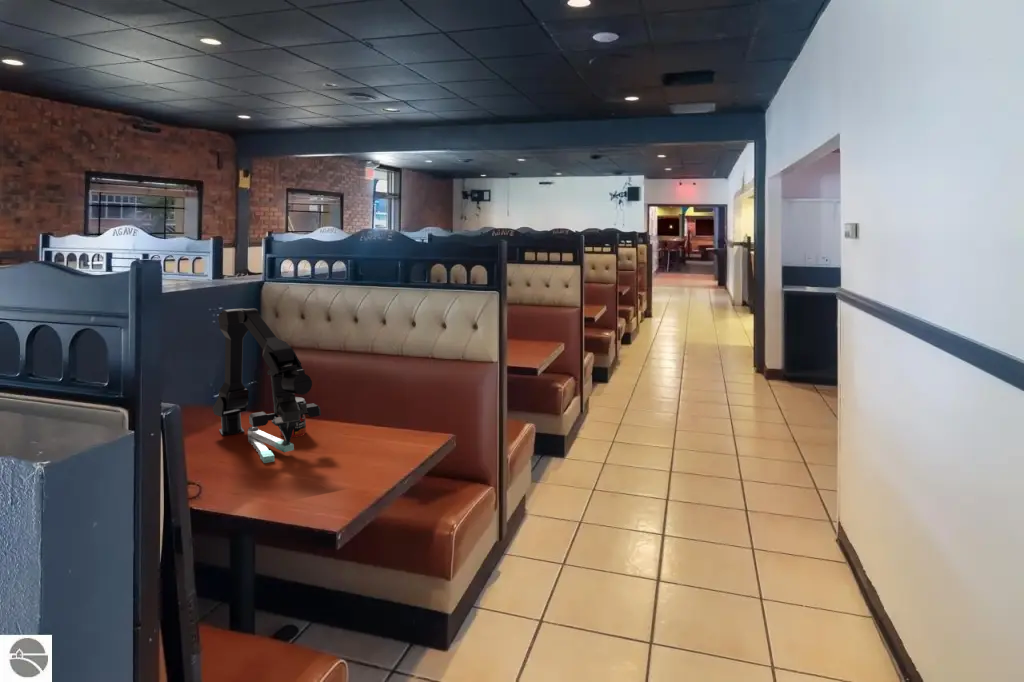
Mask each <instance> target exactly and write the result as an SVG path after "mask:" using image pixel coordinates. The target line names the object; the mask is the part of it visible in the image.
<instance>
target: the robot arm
mask: <svg viewBox="0 0 1024 682" xmlns="http://www.w3.org/2000/svg"><path fill="white" fill-rule="evenodd" d="M217 317H218V318H217V320H218V323H219V324H218V325H219V330H220V331H221V333H222V334H223V336H224V338H225V340H224V341H225V346H224V352H225V353H224V355H225V356H224V383H223V384H222V386H220V389H219V390H218V397H217V399H216V401H215V403H214V405H213V407H212V411H213V414H214V415H215V416H217V417H220V420H221V421H220V424H221V428H219V429H218V430H219V432H220V435H222V436H229V435H236V434H243V433H245V430H244V428H243V427H242V418H241V417H242V415H241V413H243V412H248V405H249V402H250V401H249V393H250V392H249V389H248V388H246V387H245V385H244V384H243V356H244V355H243V354H244V353H243V352H244V350H243V349H244V347H243V346H244V337H245V336H246V335H247V333H248V332H250V334H251V336H252V337H253V339H254V340H255V341H256V342H257V344H258V345H259V346H260V348H261V349H262V358H263V360H264V363H265V364H266V365H267V367H268V368H269V369H268V371H267V372H266V374H267V375H268V376H270V381H271V390H272V391H271V392H272V394H271V395H272V401H273V411H274V412H273V413H266V412H265V411H257V412H252V413H250V414H249V416H248V420H249V421H248V422H249V425H251V427H258V428H259V427H263V426H267V424H268V423H269V421H271V423H272V424H273V425H274V426H275V427H278V428H279V431H280V430H281V432H282V434H283V436H284V437H283V436H282V437H283V438H284V440H286V441H288V442H290V443H291V439H292V437H291V436H292V432H293V429H294V427H295V425H296V423H297V422H300V415H305V416H306V415H307V416H308V417H309V418H314V417H320V416H321V415H322V412H321V407H320V406H319V405H318V404H316V403H307V401H306V400H305V401H299V402H296V399H295V397H296V395H302V396H303V395H306V394H308V393H309V392H310V391H311V389H312V386H313V381H312V379H311V377H310V376H309V375H308V374H306V373H305V369H303V366H302V362H301V361H300V359H299V357H298V356H297V354H296V352H295V351H294V349H293V347H291V345H289V344H288V343H287V342H286V341H284V340H282V339H280V338H278V337H277V336H276V335H275V333H274V332H273V330H272V329H271V328H270V327H269V325H268V324H267V323H266V321H265V320H264V319H263V318H262V316H261V314H260V311H259V310H258V309H257V308H232V309H223V310H222V311H221V312H219V315H218V316H217ZM279 415H280V416H279Z"/></svg>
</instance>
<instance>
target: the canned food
mask: <svg viewBox="0 0 1024 682" xmlns="http://www.w3.org/2000/svg"><path fill="white" fill-rule="evenodd" d="M295 399H296V402H299V401H305V402H306V400H305V398H303V397H299V396H295ZM278 416H280V415H278ZM306 421H307V419H306V414H305V415H300V422H297V423H296V425H295V427H294V429H293V432H292V436H291V438H297V437H296V436H298V437H301V435H302V436H304V435H305V434H306V432H307V424H306ZM279 433H280V434H279V435H281V437H283V434H282V432H281V430H280V429H279ZM303 434H304V435H303Z"/></svg>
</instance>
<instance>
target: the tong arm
mask: <svg viewBox="0 0 1024 682" xmlns="http://www.w3.org/2000/svg"><path fill="white" fill-rule="evenodd" d="M248 437H253V438H255V439H257V440H260V441H262V442H263V443H264V444H265V445H266V444H267V445H269V446H272V447H273V448H275V449H276V450H278V451H279V452H283V453H288V452H292V451H295V448H294V447H295V445H294V443H293V442H291V441H290V442H288V441H286V440H285V439H282V438H280V437H277V436H274V435H273V434H270V433H267V432H265V431H263V430H261V429H260V428H259V426H258V427H253V426H250V427H248V429H247V438H248Z"/></svg>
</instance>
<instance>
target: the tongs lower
mask: <svg viewBox="0 0 1024 682" xmlns="http://www.w3.org/2000/svg"><path fill="white" fill-rule="evenodd" d="M247 440H248V441H247V443H248V442H249V443H248V444H251V446H252V445H253V446H252V447H253V449H254V450H255V449H256V450H255V451H256V453H257V452H258V453H257V455H258V456H259V459H260V461H262V462H263V464H267V463H268V464H269V463H273V462H275V460H276V459H275V454H274V453H273V451H272V450H269V448H268V447H267V446H266V443H264V442H262V441H260V440H257V439H255V438H253V437H248V436H247Z"/></svg>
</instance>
